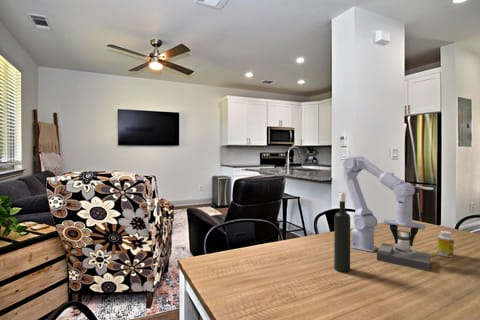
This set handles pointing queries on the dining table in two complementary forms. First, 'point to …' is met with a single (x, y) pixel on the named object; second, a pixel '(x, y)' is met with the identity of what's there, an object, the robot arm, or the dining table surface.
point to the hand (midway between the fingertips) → (403, 244)
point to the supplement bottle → (445, 244)
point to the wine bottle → (342, 238)
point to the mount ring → (410, 254)
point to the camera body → (404, 258)
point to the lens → (403, 240)
